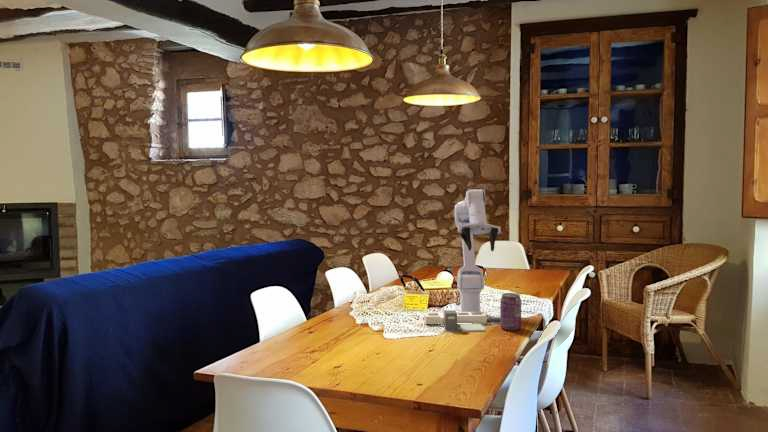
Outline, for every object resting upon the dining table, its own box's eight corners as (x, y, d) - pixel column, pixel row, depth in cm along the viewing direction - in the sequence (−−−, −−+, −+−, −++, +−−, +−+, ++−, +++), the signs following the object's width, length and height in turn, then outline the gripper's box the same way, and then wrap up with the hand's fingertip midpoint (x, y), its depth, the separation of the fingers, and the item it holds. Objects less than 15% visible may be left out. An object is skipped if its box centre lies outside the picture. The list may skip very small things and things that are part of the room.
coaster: (458, 325, 216) (458, 324, 216) (480, 325, 217) (480, 323, 217) (462, 331, 208) (462, 330, 208) (485, 331, 209) (485, 329, 209)
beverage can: (519, 326, 215) (519, 292, 214) (522, 331, 208) (522, 297, 207) (499, 325, 216) (499, 292, 215) (501, 331, 209) (501, 296, 208)
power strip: (424, 320, 224) (424, 311, 224) (499, 319, 225) (499, 309, 225) (426, 326, 215) (426, 316, 215) (504, 325, 217) (504, 315, 216)
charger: (442, 325, 218) (442, 308, 217) (453, 324, 218) (453, 308, 218) (445, 330, 210) (445, 313, 210) (457, 330, 210) (457, 313, 210)
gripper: (458, 209, 208) (461, 241, 200) (500, 210, 209) (505, 242, 200) (455, 222, 214) (458, 253, 205) (496, 223, 214) (501, 255, 206)
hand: (481, 249), depth 203 cm, fingers open, 7 cm apart
